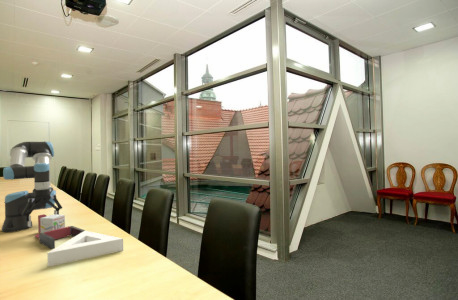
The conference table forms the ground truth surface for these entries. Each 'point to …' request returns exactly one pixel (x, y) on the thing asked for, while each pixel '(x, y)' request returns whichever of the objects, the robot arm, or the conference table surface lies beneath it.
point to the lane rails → (50, 240)
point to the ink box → (52, 222)
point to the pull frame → (53, 233)
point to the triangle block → (84, 247)
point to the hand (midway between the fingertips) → (43, 223)
